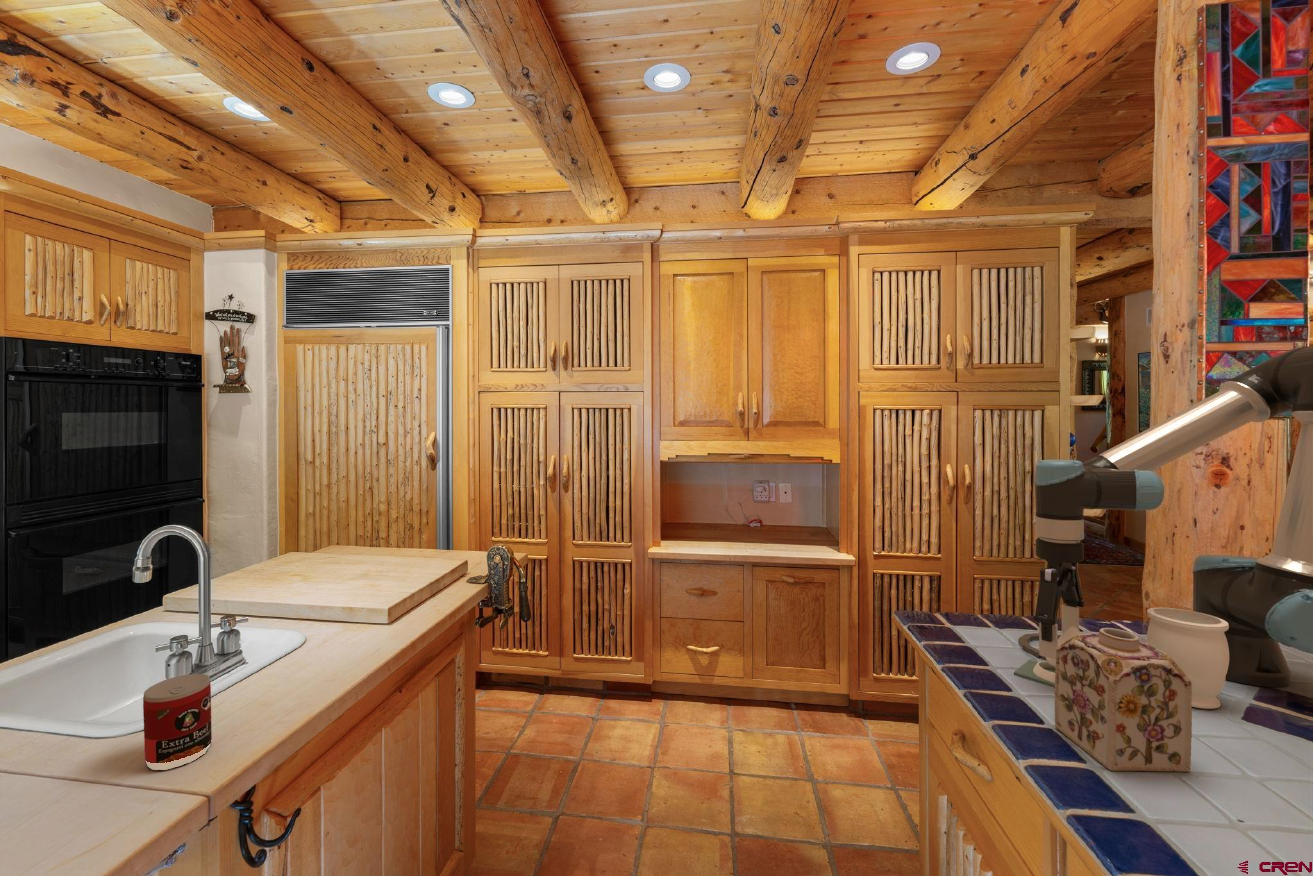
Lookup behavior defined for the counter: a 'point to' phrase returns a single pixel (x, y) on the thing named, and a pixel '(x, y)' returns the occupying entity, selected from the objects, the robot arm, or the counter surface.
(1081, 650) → the decorative jar
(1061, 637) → the hook
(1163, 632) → the jar
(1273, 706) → the counter surface
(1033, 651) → the metal ring
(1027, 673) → the rubber mat
